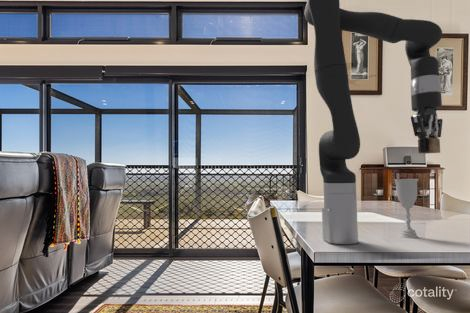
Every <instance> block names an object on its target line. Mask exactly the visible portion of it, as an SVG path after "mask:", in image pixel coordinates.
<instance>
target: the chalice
mask: <svg viewBox="0 0 470 313" xmlns="http://www.w3.org/2000/svg"><path fill="white" fill-rule="evenodd" d="M418 181H419V178H395V179H394V182H395V188H396V191H395V192H396V197H397V199H398V202H399V203H400V204H401V207H402V208H403V209H405V214H404V215H405V220H404V222H406V223H405V224H406V226H405V228H403V229H401V232H400V235H399V236H400V237H401V238H407V239H418V238H419V236H418V235H417V233H416V230H415V229H413V228H412V227H411V222H412V220H411V213H410V209H412V208H413V206H414V205H415V203H416V201H417V198H418Z"/></svg>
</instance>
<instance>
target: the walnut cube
mask: <svg viewBox="0 0 470 313" xmlns="http://www.w3.org/2000/svg"><path fill="white" fill-rule="evenodd" d="M428 139H429V151H428V152H421V151H420V139H417V148H418V154H427V155H428V154H439V153H441V141H440V138H438V139H436V138H428Z"/></svg>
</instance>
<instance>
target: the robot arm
mask: <svg viewBox="0 0 470 313" xmlns="http://www.w3.org/2000/svg"><path fill="white" fill-rule="evenodd" d="M340 4H341V3H340V0H306V5H305V8H304V18H305V21H306V22H307V24H309V25H311V26H313V28H314V36H315V37H314V53H313V54H314V56H313V57H314V59H313V60H314V61H313V65H314V66H313V68H314V70H313V71H314V77H315V85H316V88H317V91H318V93H319V95H320V97H321V98H322V100H323V102H324V103H325V105H326V107H327V108H328V109H329V112H330V117H331V123H332V130H329V131H326V132H324V133H323V134H322V135H321V137H320V139H319V143H318V158H319V160H318V161H319V169H320V174H321V176H322V179H323V207H322V209H321V216H322V217H321V218H322V221H321V222H322V239H323V240H324V241H325V242H327V243H328V244H335V245H336V244H338V245H355V244H357V243H359V231H358V230H359V225H358V223H359V222H358V207H357V206H358V203H357V202H358V201H357V200H358V199H357V198H358V197H357V178H356V177H357V176H356V173H354V171H352V170H350V169H349V168H348V166H347V162H346V161H347V160H351V159H353V158H355V157H356V156H358V154H359V152H360V148H361V137H360V133H359V130H358V129H359V128H358V125H357V121H356V117H355V113H354V108H353V102H352V96H351V91H350V83H349V74H348V67H347V61H346V55H345V48H344V42H343V38H342V37H343V36H342V32H343V31H344V32H349V33H354V34H359V35H361V36H367V37H370V38H374V39H377V40H381V41H384V42H387V43H390V44H396V43H399V42H401V41H402V42H404V41H405V44H404V45H405V47H404V48H405V49H404V50H405V54H406V57H407V58H406V59H407V61H408V64H409V66H410V78H411V79H410V80H411V82H410V101H411V103H410V104H411V110H412V112H415V113H416V114H415V115H412V116H410V121H411V124H412V125H411V126H412V130H413V135H414V137H417V138H418V139H417V140H419V139H420V151H421V152H428V151H429V139H428V138H436V139H439V138H442V130H443V121H444V120H443V119H442V118H439V117H438V114H437V111H438V110H439V109H441V108H442V107H443V104H442V102H443V100H442V85H441V80H440V71H439V70H440V69H439V68H440V67H439V61H438V58H437V57H435V56H432V55H431V53H430V52H431V51H430V49H432V48H433V47H434V46H436V45H437V44H438V43H440V41H441V39H442V37H443V30H442V28H441V27H440V25H438V24H437V23H435V22H433V21H431V20H426V19H425V20H424V19H413V18H411V19H410V18H407V19H406V18H401V17H398V16H395V15H391V14H387V13H384V12H380V11H379V12H378V11H352V10H347V9H344V8H341V6H340Z"/></svg>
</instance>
